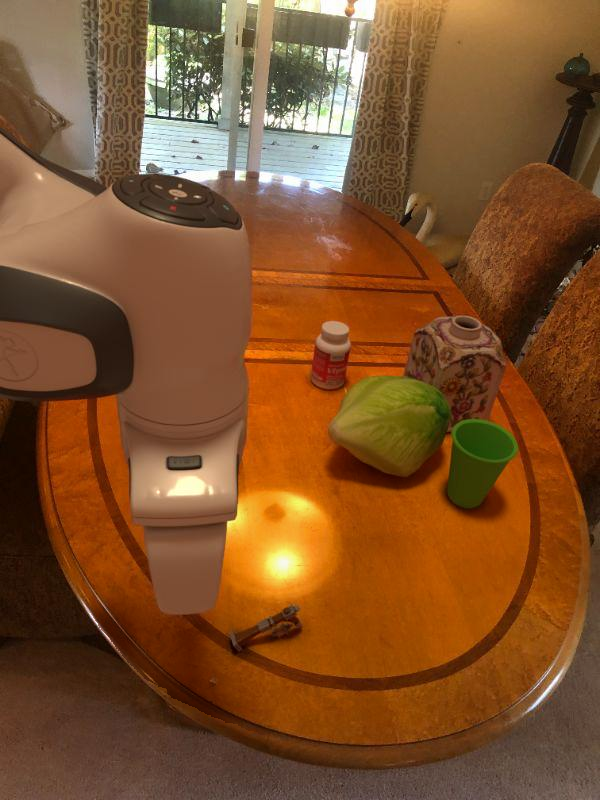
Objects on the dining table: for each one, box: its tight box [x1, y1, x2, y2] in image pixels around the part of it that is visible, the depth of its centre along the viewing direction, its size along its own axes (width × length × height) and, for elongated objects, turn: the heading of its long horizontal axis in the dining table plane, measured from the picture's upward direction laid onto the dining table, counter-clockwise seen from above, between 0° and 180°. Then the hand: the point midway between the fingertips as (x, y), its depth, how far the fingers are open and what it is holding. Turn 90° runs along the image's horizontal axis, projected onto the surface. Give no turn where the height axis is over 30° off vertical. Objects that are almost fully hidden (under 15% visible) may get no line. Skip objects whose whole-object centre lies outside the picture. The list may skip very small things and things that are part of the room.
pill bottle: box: [310, 320, 352, 390], centre depth 108 cm, size 6×6×11 cm
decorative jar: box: [402, 315, 507, 433], centre depth 101 cm, size 12×12×18 cm
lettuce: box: [327, 375, 451, 478], centre depth 92 cm, size 15×20×14 cm
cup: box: [446, 419, 519, 509], centre depth 87 cm, size 9×9×11 cm
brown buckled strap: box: [228, 604, 304, 653], centre depth 68 cm, size 2×8×4 cm, turn 110°
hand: (188, 547), depth 51 cm, fingers open, 8 cm apart
